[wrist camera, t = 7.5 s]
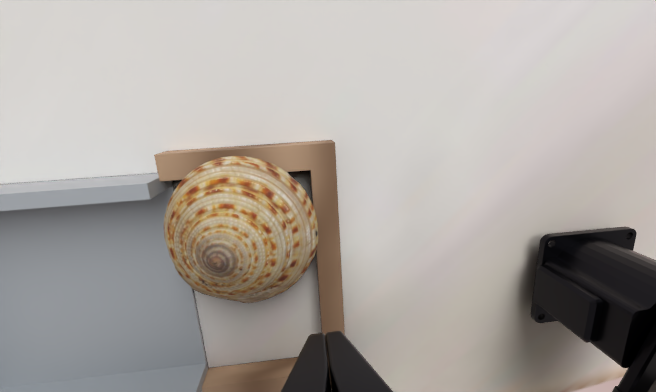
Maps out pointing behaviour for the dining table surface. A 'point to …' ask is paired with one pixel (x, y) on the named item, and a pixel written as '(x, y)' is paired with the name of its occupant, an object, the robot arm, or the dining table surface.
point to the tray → (94, 290)
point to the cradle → (319, 157)
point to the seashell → (240, 229)
